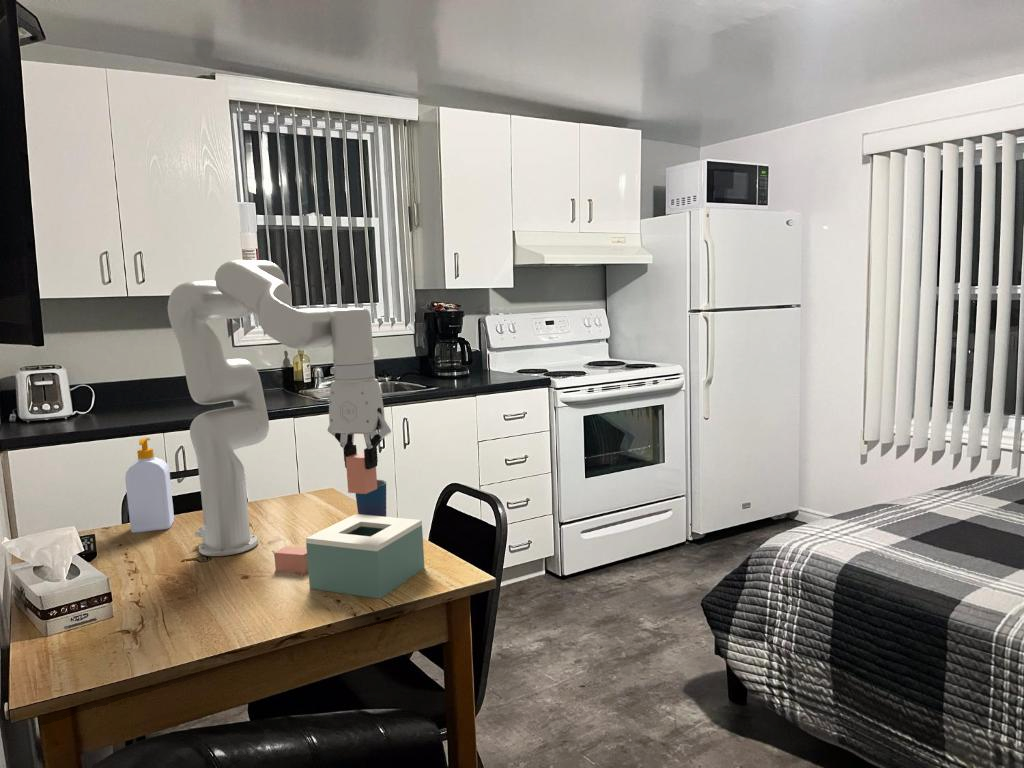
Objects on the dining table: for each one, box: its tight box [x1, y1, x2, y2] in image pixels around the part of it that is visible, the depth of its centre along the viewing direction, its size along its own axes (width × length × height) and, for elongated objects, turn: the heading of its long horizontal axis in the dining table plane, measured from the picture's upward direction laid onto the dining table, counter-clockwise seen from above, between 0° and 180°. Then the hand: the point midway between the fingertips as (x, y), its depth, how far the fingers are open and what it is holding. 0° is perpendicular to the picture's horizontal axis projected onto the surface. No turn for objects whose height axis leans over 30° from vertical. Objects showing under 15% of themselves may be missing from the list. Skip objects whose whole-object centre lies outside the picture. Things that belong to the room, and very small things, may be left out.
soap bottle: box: [124, 437, 175, 534], centre depth 184 cm, size 9×7×23 cm
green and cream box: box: [305, 513, 426, 600], centre depth 144 cm, size 16×16×10 cm
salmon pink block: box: [346, 452, 378, 494], centre depth 142 cm, size 4×4×7 cm
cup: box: [354, 479, 387, 517], centre depth 160 cm, size 7×7×15 cm
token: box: [273, 545, 309, 574], centre depth 152 cm, size 7×4×4 cm, turn 72°
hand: (361, 466), depth 142 cm, fingers closed on salmon pink block, 4 cm apart
